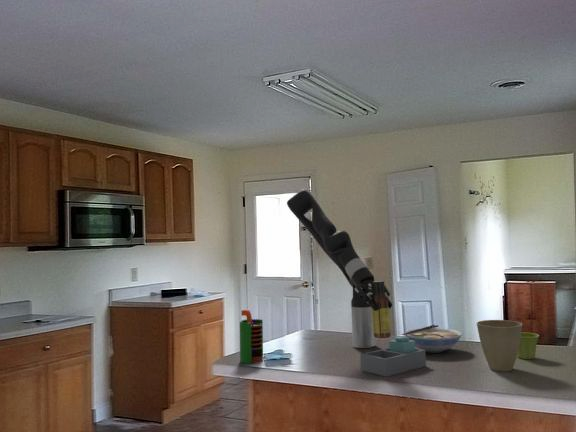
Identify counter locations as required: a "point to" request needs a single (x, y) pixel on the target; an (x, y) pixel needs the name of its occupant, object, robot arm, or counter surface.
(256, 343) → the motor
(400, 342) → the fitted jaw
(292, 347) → the counter surface
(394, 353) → the box
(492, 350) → the plant pot
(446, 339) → the ramen bowl
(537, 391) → the counter surface
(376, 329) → the sauce bottle
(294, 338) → the counter surface
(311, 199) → the robot arm
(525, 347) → the plant pot
